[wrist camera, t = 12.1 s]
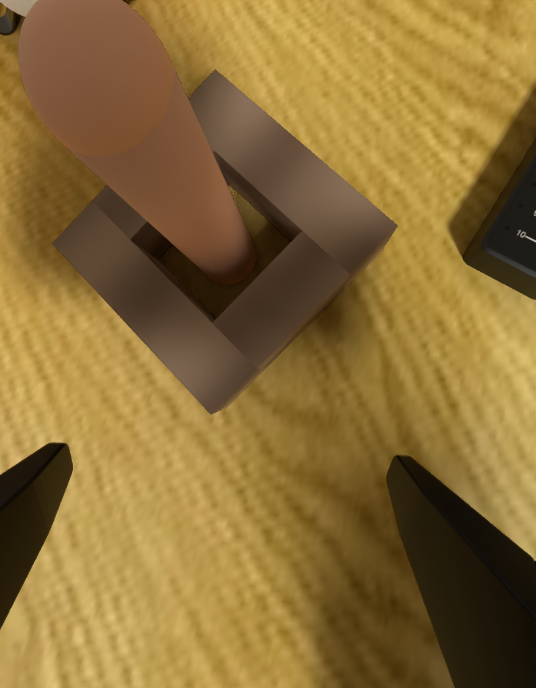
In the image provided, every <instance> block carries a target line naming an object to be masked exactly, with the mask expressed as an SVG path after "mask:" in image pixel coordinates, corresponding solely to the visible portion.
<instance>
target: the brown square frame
mask: <svg viewBox="0 0 536 688" xmlns="http://www.w3.org/2000/svg"><path fill="white" fill-rule="evenodd" d="M188 100H189V102H190V104H191V106H192V109H193V111H194V113H195V115H196V117H197V120H198V122H199V124H200V126H201V128H202V131H203V133H204V135H205V137H206V139H207V142H208V144H209V146H210V148H211V150H212V153H213V155H214V157H215V159H216V161H217V164H218V166H219V168H220V170H221V173H222V175H223V177H224V179H225V181H226V184H227V186H228V185H230V186H231V187H232V188H234V189H235V190H236V191H237V192H238V193H239V194H240V195H241V196H242V197H243V198H244V199H245V200H247V201H248V202H249V203H250V204H251V205H252V206H253V207H254V208H255V209H256V210H257V211H258V212H260V213H261V214H262V215H263V216H264V217H265V218H266V219H267V220H268V221H269V222H270V223H272V224H273V225H274V226H275V227H276V228H277V229H278V230H279V231H280V232H281V233H282V234H283V235H285V236H286V237H287V238H288V239H289V240H290V241H291V243H290V244H289V245H288V246H287V247H286V248H285V249H284V250H283V251H282V252H281V253H280V254H279V255H278V256H277V257H276V258H275V259H274V260H273V261H272V262H271V263H270V264H269V265H268V266H267V267H266V268H265V269H264V270H263V271H262V272H261V273H260V274H259V275H258V276H257V278H256V279H255V280H254V281H253V282H252V283H251V284H250V285H249V286H248V287H247V288H246V289H245V290H244V291H243V292H242V293H241V294H240V295H239V296H238V297H237V298H236V299H235V300H234V301H233V302H232V303H231V304H230V305H229V306H228V307H227V308H226V309H225V310H224V311H223V312H222V313H221V314H220V315H219V317H218V318H217V319H216V318H215V317H214V316H213V315H212V314H211V313H210V312H209V311H208V310H207V309H206V308H205V307H204V306H203V305H202V304H201V303H200V302H199V301H198V300H197V299H196V298H195V297H194V296H193V295H192V294H191V293H190V292H189V291H188V290H187V289H186V288H185V287H184V286H183V284H182V283H181V282H180V281H179V280H178V279H177V278H176V277H175V276H174V275H173V274H172V273H171V272H170V271H169V270H168V269H167V268H166V267H165V266H164V265H163V264H162V263H161V262H160V261H159V260H158V258H159V257H160V256H161V255H162V254H163V253H164V252H165V251H166V250H167V249H168V248H169V247H170V246H171V245H172V243H171V242H170V241H169V240H168V239H167V238H165V237H164V236H163V235H162V234H161V233H160V232H159V231H158V230H157V229H155V228H154V227H153V226H152V225H151V224H150V223H149V222H148V221H147V220H146V219H144V218H143V217H142V216H141V215H140V214H139V213H138V212H137V211H136V210H134V209H133V208H132V207H131V206H130V205H129V204H128V203H127V202H126V201H125V200H123V199H122V198H121V197H120V196H119V195H118V194H117V193H116V192H115V191H113V190H112V189H111V188H110V187H109V186H108V185H106V186H105V188H104V189H103V190H102V191H101V192H100V193H99V194H98V195H97V196H96V197H95V198H94V199H93V200H92V201H91V202H90V204H89V205H88V206H87V207H86V208H85V209H84V210H83V211H82V212H81V213H80V214H79V215H78V216H77V217H76V218H75V219H74V221H73V222H72V223H71V224H70V225H69V226H68V227H67V228H66V229H65V230H64V231H63V232H62V233H61V234H60V235H59V237H58V238H57V239H56V240H55V241H54V242H53V243H52V244H53V245H54V246H55V247H56V248H57V249H58V251H59V252H60V253H61V254H62V255H63V256H64V257H65V258H66V259H67V260H68V261H69V262H70V263H71V265H72V266H73V267H74V268H75V269H76V270H77V271H78V272H79V273H80V274H81V275H82V276H83V277H84V279H85V280H86V281H87V282H88V283H89V284H90V285H91V286H92V287H93V288H94V289H95V290H96V291H97V293H98V294H99V295H100V296H101V297H102V298H103V299H104V300H105V301H106V302H107V303H108V304H109V305H110V307H111V308H112V309H113V310H114V311H115V312H116V313H117V314H118V315H119V316H120V317H121V318H122V319H123V321H124V322H125V323H126V324H127V325H128V326H129V327H130V328H131V329H132V330H133V331H134V332H135V333H136V335H137V336H138V337H139V338H140V339H141V340H142V341H143V342H144V343H145V344H146V345H147V346H148V347H149V349H150V350H151V351H152V352H153V353H154V354H155V355H156V356H157V357H158V358H159V359H160V360H161V361H162V363H163V364H164V365H165V366H166V367H167V368H168V369H169V370H170V371H171V372H172V373H173V374H174V375H175V377H176V378H177V379H178V380H179V381H180V382H181V383H182V384H183V385H184V386H185V387H186V388H187V389H188V391H189V392H190V393H191V394H192V395H193V396H194V397H195V398H196V399H197V400H198V401H199V402H200V403H201V405H202V406H203V407H204V408H205V409H206V410H207V411H208V412H209V413H210V414H213V413H216V412H218V411H220V410H222V409H224V408H226V407H228V406H229V405H230V404H231V403H232V402H233V401H234V400H235V399H236V398H237V397H238V396H239V395H240V394H241V393H242V392H243V391H244V390H245V389H246V388H247V387H248V385H249V384H250V383H251V382H252V381H253V380H254V379H255V378H256V377H257V376H258V375H259V374H260V373H261V372H262V371H263V370H264V369H265V368H266V367H267V366H268V365H269V364H270V363H271V362H272V361H273V360H274V359H275V358H276V357H277V356H278V355H279V354H280V353H281V352H282V351H283V350H284V349H285V348H286V347H287V346H288V345H289V344H290V343H291V342H292V341H293V340H294V339H295V338H296V337H297V336H298V335H299V334H300V333H301V332H302V331H303V330H304V329H305V328H306V327H307V326H308V325H309V324H310V323H311V322H312V321H313V320H314V319H315V318H316V317H317V316H318V315H319V314H320V313H321V312H322V311H323V310H324V309H325V308H326V307H327V306H328V305H329V304H330V303H331V302H332V301H333V300H334V299H335V298H336V297H337V296H338V295H339V294H340V293H341V292H342V291H343V289H344V288H345V287H346V286H347V285H348V284H349V283H350V282H351V281H352V280H353V279H354V278H355V277H356V276H357V275H358V274H359V273H360V272H361V271H362V270H363V269H364V268H365V267H366V266H367V265H368V264H369V263H370V262H371V261H372V260H373V259H374V258H375V257H376V256H377V255H378V254H379V253H380V252H381V251H382V250H383V249H384V247H385V246H386V244H387V242H388V241H389V239H390V237H391V236H392V234H393V233H394V231H395V229H396V228H397V226H398V225H396V224H395V223H394V222H393V221H392V220H391V219H389V218H388V217H387V216H386V215H385V214H384V213H382V212H381V211H380V210H379V209H378V208H377V207H375V206H374V205H373V204H372V203H371V202H370V201H368V200H367V199H366V198H365V197H364V196H363V195H361V194H360V193H359V192H358V191H357V190H356V189H354V188H353V187H352V186H351V185H350V184H349V183H347V182H346V181H345V180H344V179H343V178H342V177H340V176H339V175H338V174H337V173H336V172H335V171H333V170H332V169H331V168H330V167H329V166H328V165H326V164H325V163H324V162H323V161H322V160H321V159H319V158H318V157H317V156H316V155H315V154H314V153H312V152H311V151H310V150H309V149H308V148H307V147H305V146H304V145H303V144H302V143H301V142H300V141H298V140H297V139H296V138H295V137H294V136H293V135H291V134H290V133H289V132H288V131H287V130H286V129H284V128H283V127H282V126H281V125H280V124H279V123H277V122H276V121H275V120H274V119H273V118H272V117H270V116H269V115H268V114H267V113H266V112H265V111H263V110H262V109H261V108H260V107H259V106H258V105H256V104H255V103H254V102H253V101H252V100H251V99H249V98H248V97H247V96H246V95H245V94H244V93H242V92H241V91H240V90H239V89H238V88H237V87H235V86H234V85H233V84H232V83H231V82H230V81H228V80H227V79H226V78H225V77H224V76H223V75H221V74H220V73H219V72H218V71H217V70H216V69H215V70H214V71H213V72H212V73H211V75H210V76H209V77H208V78H207V79H206V80H205V81H204V82H203V83H202V84H201V85H200V86H199V87H198V88H197V89H196V91H195V92H194V93H193V94H192V95H191V96H190V97H189V98H188Z"/></svg>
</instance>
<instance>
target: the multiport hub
mask: <svg viewBox="0 0 536 688" xmlns="http://www.w3.org/2000/svg"><path fill="white" fill-rule="evenodd" d="M463 260H464V262H465V263H466V264H467V265H469V266H471V267H473V268H475V269H476V270H478V271H480V272H482V273H484V274H486V275H488V276H490V277H492V278H493V279H495V280H497V281H499V282H501V283H503V284H505V285H507V286H509V287H511V288H512V289H514V290H516V291H518V292H520V293H522V294H524V295H526V296H528V297H529V298H531V299H534V300H536V139H535V140H534V142H533V144H532V145H531V147H530V148H529V150H528V152H527V153H526V155H525V156H524V158H523V160H522V161H521V163H520V164H519V166H518V168H517V169H516V171H515V172H514V174H513V176H512V177H511V179H510V180H509V182H508V184H507V185H506V187H505V188H504V190H503V192H502V193H501V195H500V196H499V198H498V200H497V201H496V203H495V204H494V206H493V208H492V209H491V211H490V212H489V214H488V216H487V217H486V219H485V220H484V222H483V224H482V225H481V227H480V228H479V230H478V232H477V233H476V235H475V236H474V238H473V240H472V241H471V243H470V244H469V246H468V248H467V249H466V251H465V252H464V255H463Z"/></svg>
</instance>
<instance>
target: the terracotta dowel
mask: <svg viewBox="0 0 536 688" xmlns="http://www.w3.org/2000/svg"><path fill="white" fill-rule="evenodd" d="M18 59H19V68H20V73H21V77H22V81H23V85H24V88H25V91H26V93H27V95H28V98H29V100H30V102H31V105H32V106H33V108H34V110H35V112H36V113H37V115H38V116H39V118H40V120H41V121H42V122H43V124H44V125H45V126H46V128H47V129H48V130H49V131H50V132H51V134H52V135H53V136H54V137H55V138H56V139H57V140H58V141H59V142H60V143H62V144H63V145H64V146H65V147H66V148H67V149H68V150H69V151H70V152H71V153H73V154H74V155H75V156H76V157H77V158H78V159H79V160H80V161H81V162H83V163H84V164H85V165H86V166H87V167H88V168H89V169H90V170H91V171H92V172H94V173H95V174H96V175H97V176H98V177H99V178H100V179H101V180H102V181H104V182H105V183H106V184H107V185H108V186H109V187H110V188H111V189H112V190H113V191H115V192H116V193H117V194H118V195H119V196H120V197H121V198H122V199H123V200H125V201H126V202H127V203H128V204H129V205H130V206H131V207H132V208H133V209H134V210H136V211H137V212H138V213H139V214H140V215H141V216H142V217H143V218H144V219H146V220H147V221H148V222H149V223H150V224H151V225H152V226H153V227H154V228H155V229H157V230H158V231H159V232H160V233H161V234H162V235H163V236H164V237H165V238H167V239H168V240H169V241H170V242H171V243H172V244H173V245H174V246H175V247H176V248H178V249H179V250H180V251H181V252H182V253H183V254H184V255H185V256H186V257H188V258H189V259H190V260H191V261H192V262H193V263H194V264H195V265H196V266H197V267H199V268H200V269H201V270H202V271H203V272H204V273H205V274H206V275H207V276H209V277H210V278H211V279H212V280H214V281H215V282H217V283H220V284H227V285H229V284H235V283H238V282H240V281H242V280H244V279H245V278H246V277H247V276H248V275H249V274H250V273H251V272H252V270H253V268H254V266H255V263H256V256H257V255H256V248H255V245H254V243H253V241H252V239H251V236H250V234H249V232H248V230H247V228H246V225H245V223H244V221H243V219H242V217H241V214H240V212H239V210H238V208H237V206H236V203H235V201H234V199H233V197H232V195H231V192H230V190H229V188H228V186H227V184H226V181H225V179H224V177H223V175H222V173H221V170H220V168H219V166H218V164H217V161H216V159H215V157H214V155H213V153H212V150H211V148H210V146H209V144H208V142H207V139H206V137H205V135H204V133H203V131H202V128H201V126H200V124H199V122H198V120H197V117H196V115H195V113H194V111H193V109H192V106H191V104H190V102H189V100H188V98H187V95H186V93H185V91H184V89H183V87H182V84H181V82H180V80H179V78H178V75H177V73H176V71H175V69H174V67H173V64H172V62H171V60H170V58H169V56H168V54H167V52H166V50H165V48H164V46H163V44H162V42H161V40H160V39H159V38H158V36H157V35H156V33H155V32H154V30H153V29H152V28H151V26H150V25H149V24H148V23H147V22H146V21H145V20H144V18H143V17H142V16H141V15H140V14H139V13H138V12H137V11H135V10H134V9H133V8H132V7H130V6H129V5H128V4H127V3H125V2H124V1H122V0H37V1H36V2H35V3H34V5H33V6H32V7H31V9H30V10H29V12H28V14H27V16H26V18H25V20H24V22H23V24H22V27H21V31H20V36H19V44H18Z"/></svg>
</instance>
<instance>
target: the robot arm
mask: <svg viewBox="0 0 536 688" xmlns="http://www.w3.org/2000/svg"><path fill="white" fill-rule="evenodd" d="M72 471H73V463H72V458H71V454H70V450H69V446H68V445H67V444H66V443H54V442H52V443H48V444H46V445H45V446H43V447H42V448H40V449H39V450H37V451H36V452H34V453H33V454H31V455H30V456H28V457H27V458H25V459H24V460H22V461H21V462H19V463H18V464H16V465H15V466H13V467H11V468H10V469H8V470H7V471H5V472H4V473H2V474H1V475H0V629H1V627H2V625H3V623H4V621H5V619H6V617H7V615H8V613H9V611H10V609H11V607H12V605H13V603H14V601H15V599H16V597H17V595H18V593H19V592H20V590H21V588H22V586H23V584H24V582H25V580H26V578H27V576H28V574H29V572H30V570H31V568H32V566H33V564H34V562H35V560H36V558H37V556H38V554H39V552H40V550H41V548H42V546H43V544H44V542H45V540H46V538H47V536H48V534H49V531H50V529H51V527H52V524H53V522H54V519H55V516H56V514H57V511H58V509H59V506H60V503H61V501H62V498H63V496H64V493H65V490H66V488H67V485H68V483H69V480H70V477H71V475H72ZM386 481H387V486H388V490H389V494H390V498H391V502H392V506H393V510H394V514H395V518H396V522H397V526H398V529H399V533H400V536H401V539H402V542H403V545H404V548H405V551H406V554H407V557H408V559H409V562H410V565H411V568H412V570H413V573H414V576H415V579H416V581H417V584H418V587H419V590H420V593H421V595H422V598H423V601H424V604H425V606H426V609H427V612H428V615H429V617H430V620H431V623H432V626H433V629H434V631H435V634H436V637H437V640H438V642H439V645H440V648H441V651H442V653H443V656H444V659H445V662H446V665H447V667H448V670H449V673H450V676H451V678H452V681H453V684H454V687H455V688H536V561H534V559H533V558H532V557H531V556H530V555H529V554H528V553H526V552H525V551H524V550H523V549H522V548H520V547H519V546H518V545H517V544H516V543H514V542H513V541H512V540H511V539H510V538H508V537H507V536H506V535H505V534H504V533H502V532H501V531H500V530H499V529H497V528H496V527H495V526H494V525H493V524H491V523H490V522H489V521H488V520H487V519H485V518H484V517H483V516H482V515H481V514H479V513H478V512H477V511H476V510H475V509H473V508H472V507H471V506H470V505H469V504H467V503H466V502H465V501H464V500H462V499H461V498H460V497H459V496H458V495H456V494H455V493H454V492H453V491H452V490H450V489H449V488H448V487H447V486H446V485H444V484H443V483H442V482H441V481H440V480H438V479H437V478H436V477H435V476H433V475H432V474H431V473H430V472H429V471H427V470H426V469H425V468H424V467H423V466H421V465H420V464H419V463H418V462H417V461H415V460H414V459H413V458H412V457H410V456H408V455H395V456H394V457H393V459H392V462H391V464H390V467H389V470H388V472H387V476H386Z"/></svg>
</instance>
